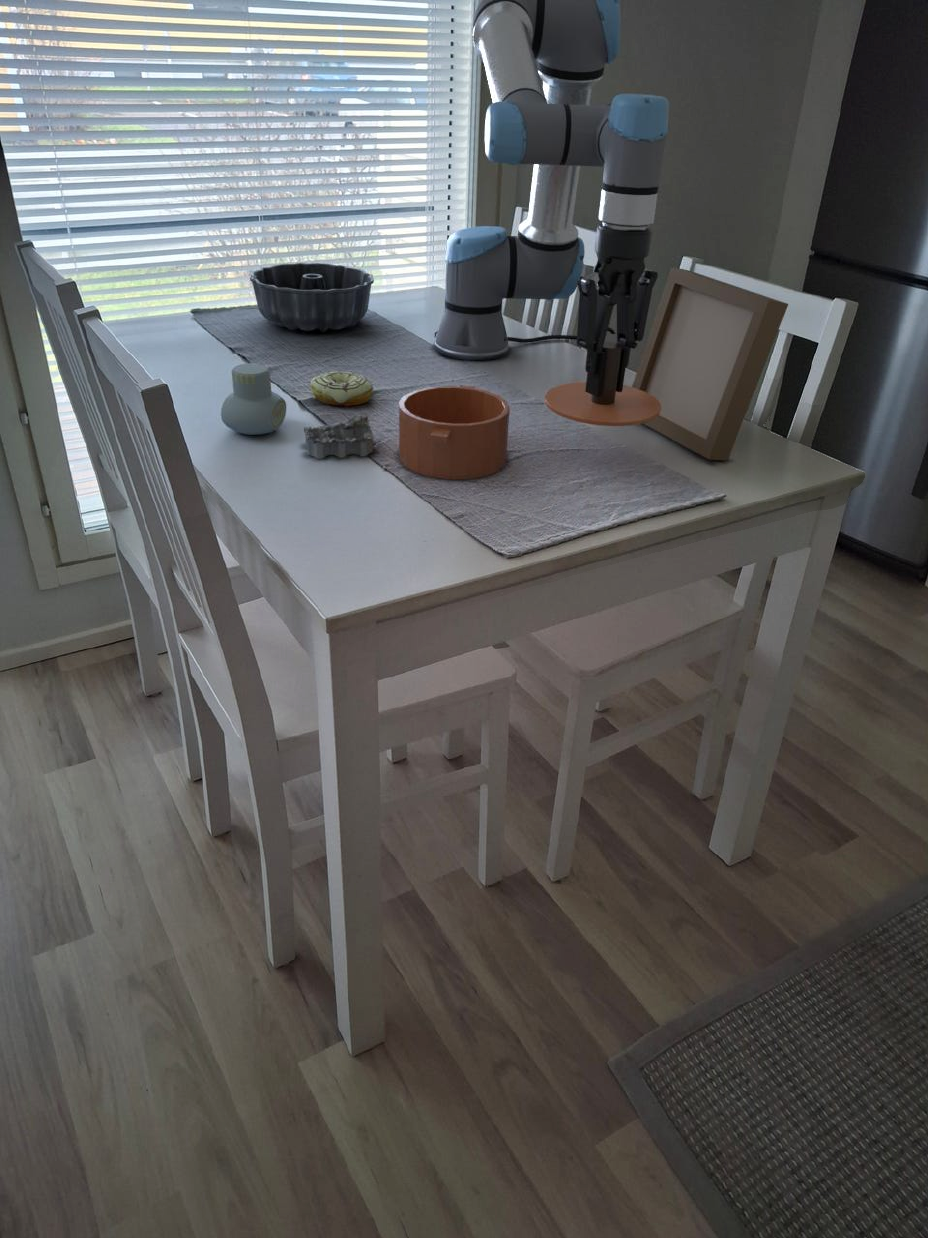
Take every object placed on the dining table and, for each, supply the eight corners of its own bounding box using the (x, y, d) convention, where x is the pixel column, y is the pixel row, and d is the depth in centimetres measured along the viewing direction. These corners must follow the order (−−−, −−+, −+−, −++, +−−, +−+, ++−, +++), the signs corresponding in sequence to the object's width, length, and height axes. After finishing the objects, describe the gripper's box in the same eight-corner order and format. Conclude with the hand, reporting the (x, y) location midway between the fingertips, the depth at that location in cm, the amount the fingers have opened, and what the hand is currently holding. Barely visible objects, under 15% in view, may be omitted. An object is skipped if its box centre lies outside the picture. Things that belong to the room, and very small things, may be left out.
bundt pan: (329, 300, 216) (327, 256, 210) (398, 326, 200) (398, 279, 194) (230, 317, 200) (226, 270, 195) (298, 347, 184) (295, 296, 179)
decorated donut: (345, 413, 155) (344, 392, 153) (299, 399, 160) (298, 378, 158) (384, 397, 162) (383, 376, 160) (339, 383, 167) (338, 363, 165)
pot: (514, 436, 150) (518, 386, 145) (493, 492, 132) (497, 437, 127) (416, 425, 152) (417, 376, 147) (382, 479, 134) (382, 425, 129)
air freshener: (267, 444, 143) (262, 382, 137) (218, 438, 144) (211, 376, 138) (291, 419, 152) (287, 360, 146) (244, 414, 153) (238, 355, 147)
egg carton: (371, 439, 146) (370, 415, 144) (375, 458, 140) (375, 433, 138) (304, 440, 145) (303, 416, 142) (305, 460, 139) (304, 434, 136)
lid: (660, 395, 144) (670, 333, 139) (659, 435, 130) (670, 368, 124) (550, 383, 147) (556, 323, 141) (537, 422, 132) (543, 356, 127)
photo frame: (707, 465, 143) (740, 303, 129) (622, 418, 159) (644, 268, 145) (775, 449, 150) (813, 293, 136) (687, 406, 165) (714, 262, 151)
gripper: (650, 216, 130) (627, 375, 143) (560, 224, 122) (545, 392, 135) (688, 225, 125) (661, 390, 138) (597, 234, 117) (577, 408, 130)
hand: (603, 391), depth 137 cm, fingers closed on lid, 4 cm apart
